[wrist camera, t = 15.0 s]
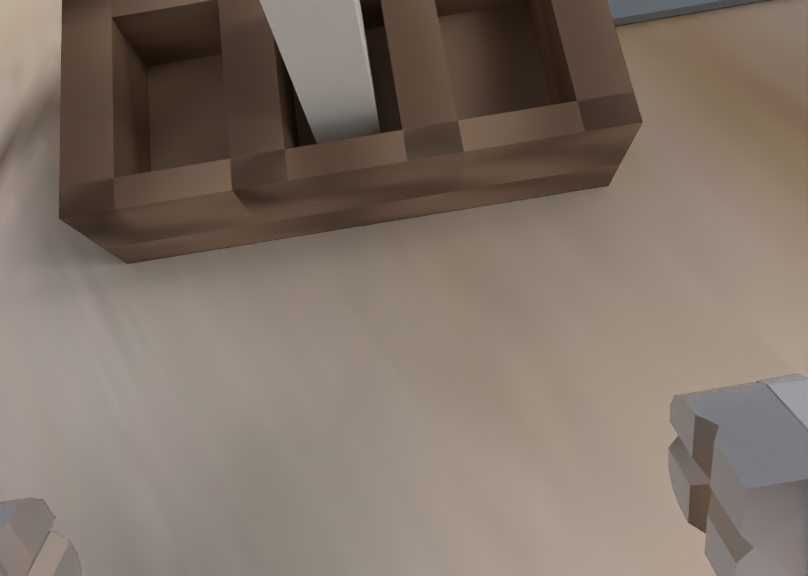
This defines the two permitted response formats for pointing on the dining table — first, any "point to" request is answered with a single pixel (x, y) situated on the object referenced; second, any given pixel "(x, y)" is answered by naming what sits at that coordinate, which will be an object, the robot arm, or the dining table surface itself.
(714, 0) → the mat
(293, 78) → the block
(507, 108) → the rack
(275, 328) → the dining table surface
